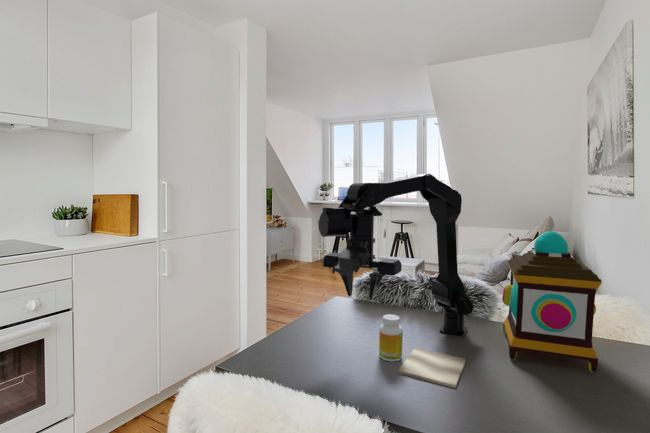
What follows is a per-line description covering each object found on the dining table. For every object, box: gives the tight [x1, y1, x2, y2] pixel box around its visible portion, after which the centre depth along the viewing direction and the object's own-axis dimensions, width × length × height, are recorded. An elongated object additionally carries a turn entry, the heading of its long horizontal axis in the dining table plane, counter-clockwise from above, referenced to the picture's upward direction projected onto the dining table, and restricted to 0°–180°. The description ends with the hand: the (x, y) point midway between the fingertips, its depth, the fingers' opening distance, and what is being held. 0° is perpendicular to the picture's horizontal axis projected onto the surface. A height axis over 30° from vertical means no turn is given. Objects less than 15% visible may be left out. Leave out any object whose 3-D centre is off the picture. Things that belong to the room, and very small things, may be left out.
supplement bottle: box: [378, 313, 404, 362], centre depth 88 cm, size 5×5×10 cm
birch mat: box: [397, 347, 467, 389], centre depth 83 cm, size 13×12×1 cm
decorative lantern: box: [502, 230, 603, 374], centre depth 90 cm, size 20×20×30 cm
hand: (360, 297), depth 91 cm, fingers open, 5 cm apart
